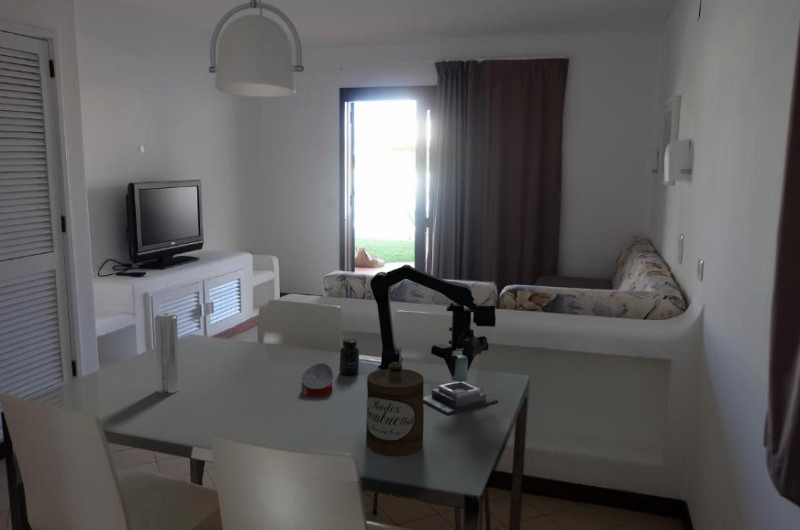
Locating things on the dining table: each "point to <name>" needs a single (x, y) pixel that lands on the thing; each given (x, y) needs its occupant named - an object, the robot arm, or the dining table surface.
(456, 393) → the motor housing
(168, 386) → the silver metal cylinder
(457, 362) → the cylinder
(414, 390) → the wooden container
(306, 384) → the canned food
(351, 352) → the supplement bottle
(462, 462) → the dining table surface
